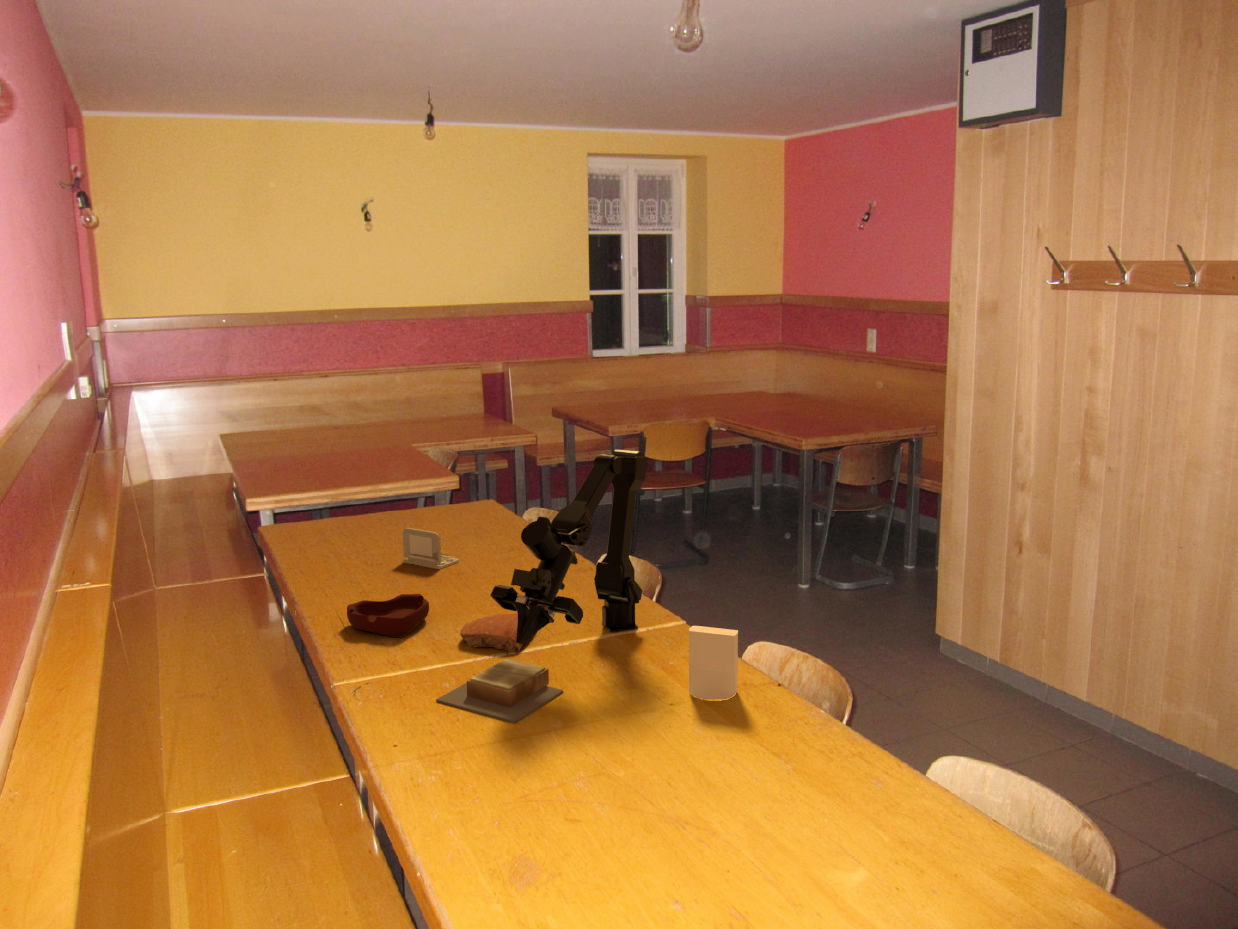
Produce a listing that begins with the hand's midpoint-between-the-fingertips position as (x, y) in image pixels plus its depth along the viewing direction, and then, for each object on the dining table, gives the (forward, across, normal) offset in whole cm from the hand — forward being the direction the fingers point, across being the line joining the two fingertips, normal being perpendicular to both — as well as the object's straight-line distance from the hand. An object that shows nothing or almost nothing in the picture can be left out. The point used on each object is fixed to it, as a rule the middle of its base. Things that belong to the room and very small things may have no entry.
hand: (518, 643), depth 183 cm
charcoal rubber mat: (+10, 0, +2) cm, 10 cm away
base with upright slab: (-5, +33, +17) cm, 38 cm away
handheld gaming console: (-32, -71, +45) cm, 90 cm away
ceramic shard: (-6, -19, +19) cm, 28 cm away
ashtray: (-2, -44, +14) cm, 46 cm away
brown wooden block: (+3, 0, +6) cm, 7 cm away
